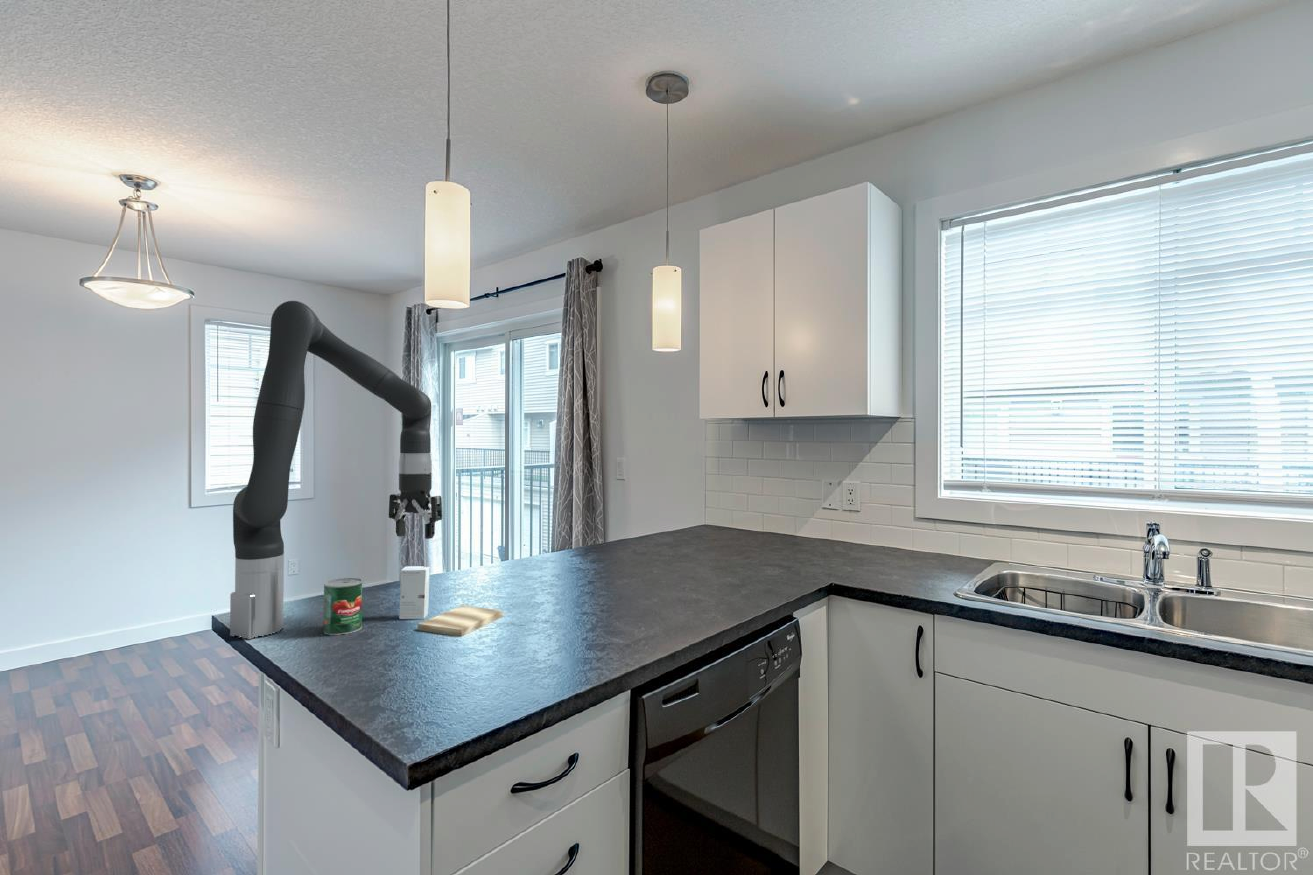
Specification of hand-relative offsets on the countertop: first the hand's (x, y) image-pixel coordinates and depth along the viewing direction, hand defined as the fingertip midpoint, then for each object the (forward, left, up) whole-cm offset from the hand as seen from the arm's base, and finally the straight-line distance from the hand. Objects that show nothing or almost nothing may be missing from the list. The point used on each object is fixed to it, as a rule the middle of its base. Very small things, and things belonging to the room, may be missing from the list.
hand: (415, 537), depth 151 cm
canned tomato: (-14, +8, -20) cm, 26 cm away
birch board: (0, -14, -20) cm, 24 cm away
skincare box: (0, 0, -20) cm, 20 cm away
